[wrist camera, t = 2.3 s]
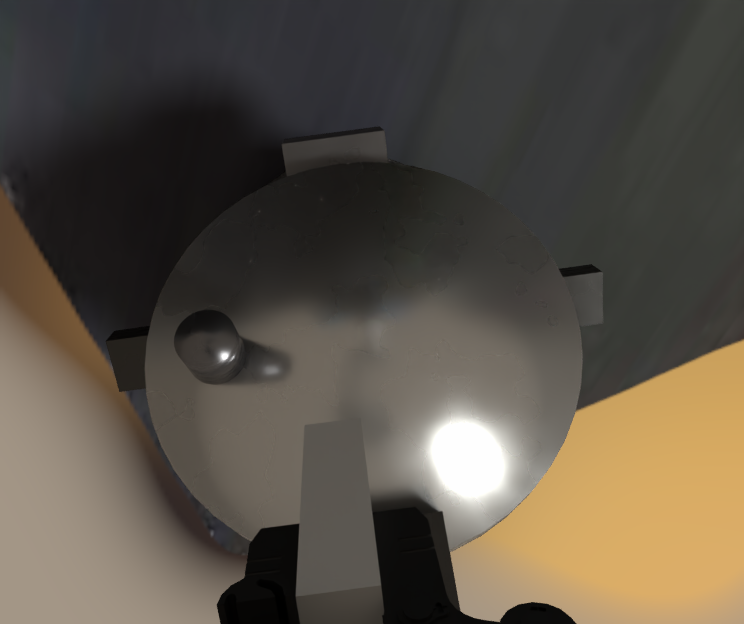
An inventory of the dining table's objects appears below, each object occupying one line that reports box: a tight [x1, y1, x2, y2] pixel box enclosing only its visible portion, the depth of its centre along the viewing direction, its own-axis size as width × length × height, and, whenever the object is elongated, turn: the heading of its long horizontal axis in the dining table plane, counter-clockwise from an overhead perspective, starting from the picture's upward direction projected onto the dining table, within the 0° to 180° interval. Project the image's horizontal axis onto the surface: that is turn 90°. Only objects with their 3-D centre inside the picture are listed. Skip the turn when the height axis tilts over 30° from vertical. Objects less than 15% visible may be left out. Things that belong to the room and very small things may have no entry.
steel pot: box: [106, 126, 603, 392], centre depth 42 cm, size 19×27×12 cm
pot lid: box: [145, 162, 583, 611], centre depth 27 cm, size 22×18×3 cm
